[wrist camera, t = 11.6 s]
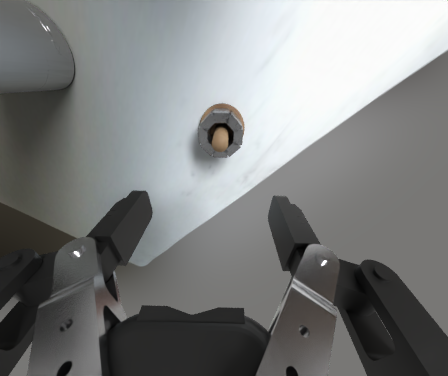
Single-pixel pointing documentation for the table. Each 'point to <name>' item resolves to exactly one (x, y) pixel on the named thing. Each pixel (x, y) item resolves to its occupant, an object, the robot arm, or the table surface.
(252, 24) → the table surface
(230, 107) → the wooden peg stand
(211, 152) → the ring
